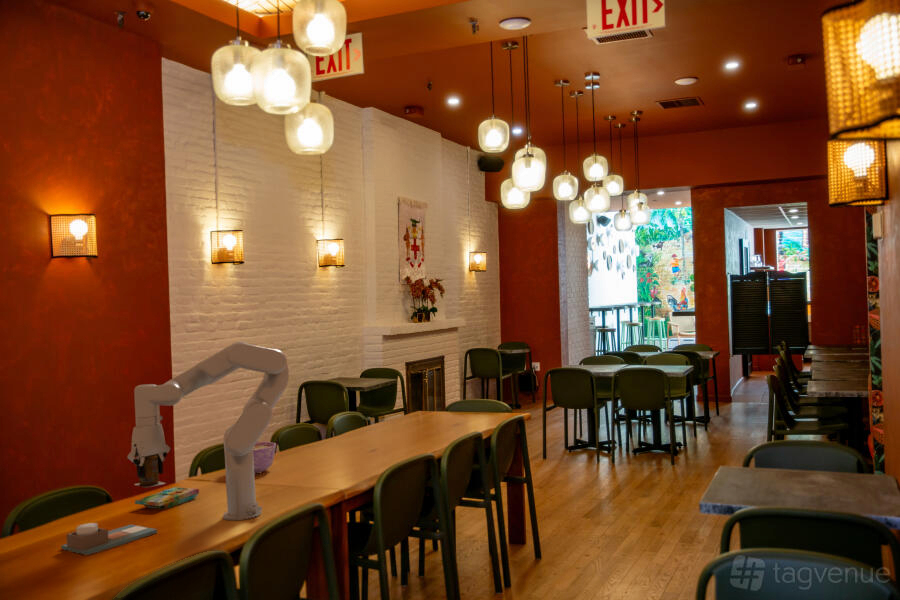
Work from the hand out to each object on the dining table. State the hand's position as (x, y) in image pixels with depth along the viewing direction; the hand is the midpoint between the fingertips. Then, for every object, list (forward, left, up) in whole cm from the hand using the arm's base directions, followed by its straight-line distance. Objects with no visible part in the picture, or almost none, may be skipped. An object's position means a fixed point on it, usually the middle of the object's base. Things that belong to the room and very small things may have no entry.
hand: (150, 474), depth 255 cm
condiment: (0, 0, -3) cm, 3 cm away
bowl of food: (+32, -73, -18) cm, 82 cm away
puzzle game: (+22, -22, -18) cm, 36 cm away
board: (0, +16, -18) cm, 24 cm away
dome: (0, +23, -14) cm, 27 cm away
